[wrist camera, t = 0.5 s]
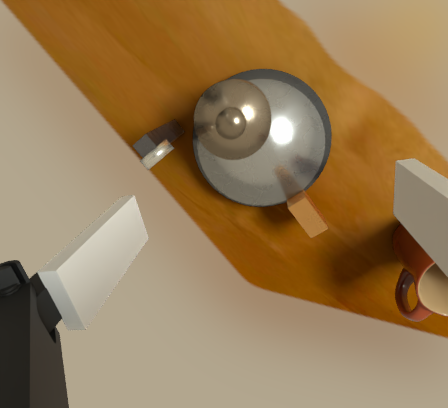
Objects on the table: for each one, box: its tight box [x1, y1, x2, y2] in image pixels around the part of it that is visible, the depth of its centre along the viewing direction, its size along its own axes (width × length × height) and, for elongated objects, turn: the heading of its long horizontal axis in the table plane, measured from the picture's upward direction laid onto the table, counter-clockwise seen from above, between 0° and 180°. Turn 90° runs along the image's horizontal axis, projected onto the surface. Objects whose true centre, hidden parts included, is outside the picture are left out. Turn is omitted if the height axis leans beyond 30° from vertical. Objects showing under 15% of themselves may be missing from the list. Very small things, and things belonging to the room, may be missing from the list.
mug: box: [392, 224, 448, 321], centre depth 36 cm, size 12×9×10 cm
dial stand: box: [133, 119, 185, 170], centre depth 34 cm, size 3×4×11 cm
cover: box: [194, 79, 271, 160], centre depth 31 cm, size 8×8×6 cm
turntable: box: [197, 79, 329, 238], centre depth 35 cm, size 20×15×4 cm
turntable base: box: [193, 69, 331, 207], centre depth 37 cm, size 17×17×2 cm
